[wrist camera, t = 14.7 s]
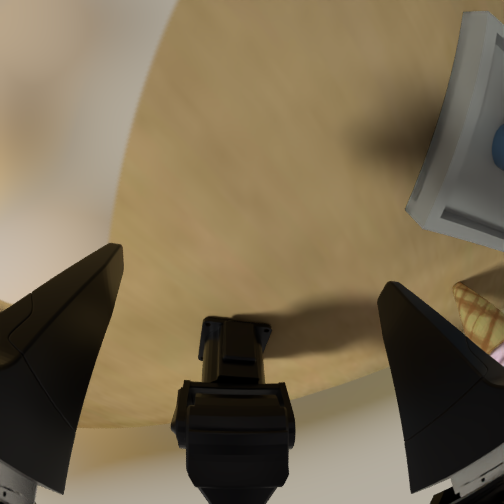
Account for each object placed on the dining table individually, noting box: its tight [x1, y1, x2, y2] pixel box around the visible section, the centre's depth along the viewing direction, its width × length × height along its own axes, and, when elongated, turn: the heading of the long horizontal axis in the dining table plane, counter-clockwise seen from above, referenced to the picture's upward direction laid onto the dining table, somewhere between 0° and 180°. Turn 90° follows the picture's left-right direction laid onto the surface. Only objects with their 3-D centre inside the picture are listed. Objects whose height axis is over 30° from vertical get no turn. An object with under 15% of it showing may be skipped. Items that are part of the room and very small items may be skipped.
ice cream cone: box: [452, 282, 504, 366], centre depth 21 cm, size 7×6×15 cm
